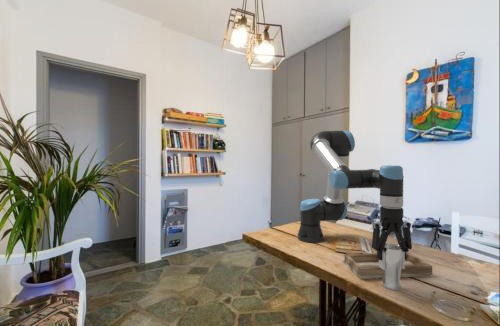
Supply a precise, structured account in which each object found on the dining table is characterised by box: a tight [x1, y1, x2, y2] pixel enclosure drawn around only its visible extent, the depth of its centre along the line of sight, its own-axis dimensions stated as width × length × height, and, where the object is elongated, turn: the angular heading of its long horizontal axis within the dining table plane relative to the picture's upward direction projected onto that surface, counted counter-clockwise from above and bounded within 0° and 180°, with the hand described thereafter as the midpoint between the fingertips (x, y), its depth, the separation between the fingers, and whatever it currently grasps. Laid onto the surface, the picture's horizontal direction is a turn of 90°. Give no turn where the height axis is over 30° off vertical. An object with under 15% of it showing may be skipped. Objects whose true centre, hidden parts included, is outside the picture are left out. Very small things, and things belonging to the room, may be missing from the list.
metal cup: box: [382, 243, 403, 291], centre depth 90 cm, size 7×7×15 cm
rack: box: [344, 251, 433, 280], centre depth 103 cm, size 14×30×4 cm, turn 93°
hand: (391, 267), depth 90 cm, fingers closed on metal cup, 7 cm apart
